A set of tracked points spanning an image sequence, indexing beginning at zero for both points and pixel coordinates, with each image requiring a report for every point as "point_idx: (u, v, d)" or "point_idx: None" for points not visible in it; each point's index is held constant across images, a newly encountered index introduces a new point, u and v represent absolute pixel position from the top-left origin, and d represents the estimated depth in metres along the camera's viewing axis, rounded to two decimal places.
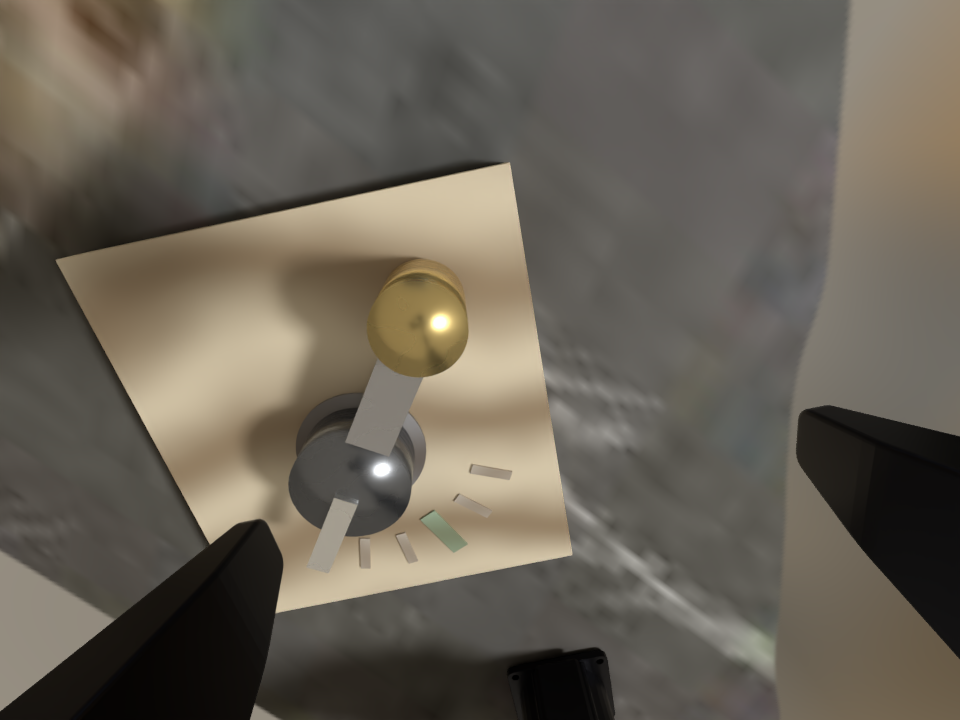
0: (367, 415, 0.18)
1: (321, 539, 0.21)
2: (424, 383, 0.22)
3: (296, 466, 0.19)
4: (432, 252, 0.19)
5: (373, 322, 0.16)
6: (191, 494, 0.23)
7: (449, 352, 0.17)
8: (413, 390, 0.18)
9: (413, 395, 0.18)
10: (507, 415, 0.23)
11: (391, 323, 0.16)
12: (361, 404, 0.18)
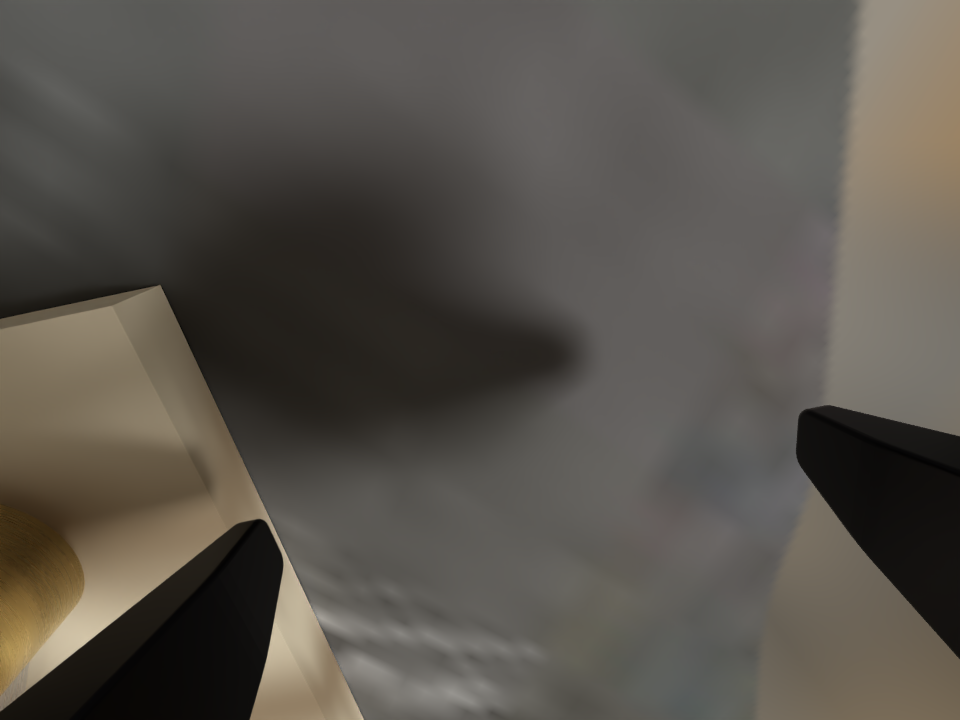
0: None
1: None
2: None
3: None
4: None
5: None
6: None
7: None
8: None
9: None
10: None
11: None
12: None
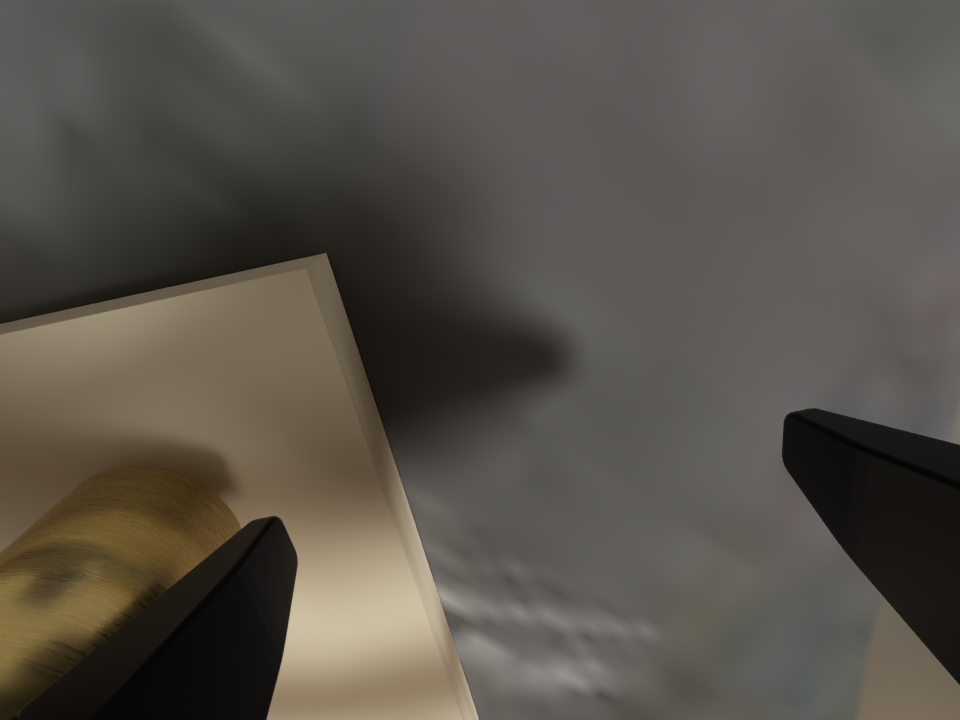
0: None
1: None
2: None
3: None
4: (170, 443, 0.09)
5: None
6: None
7: None
8: None
9: None
10: (373, 691, 0.12)
11: None
12: None
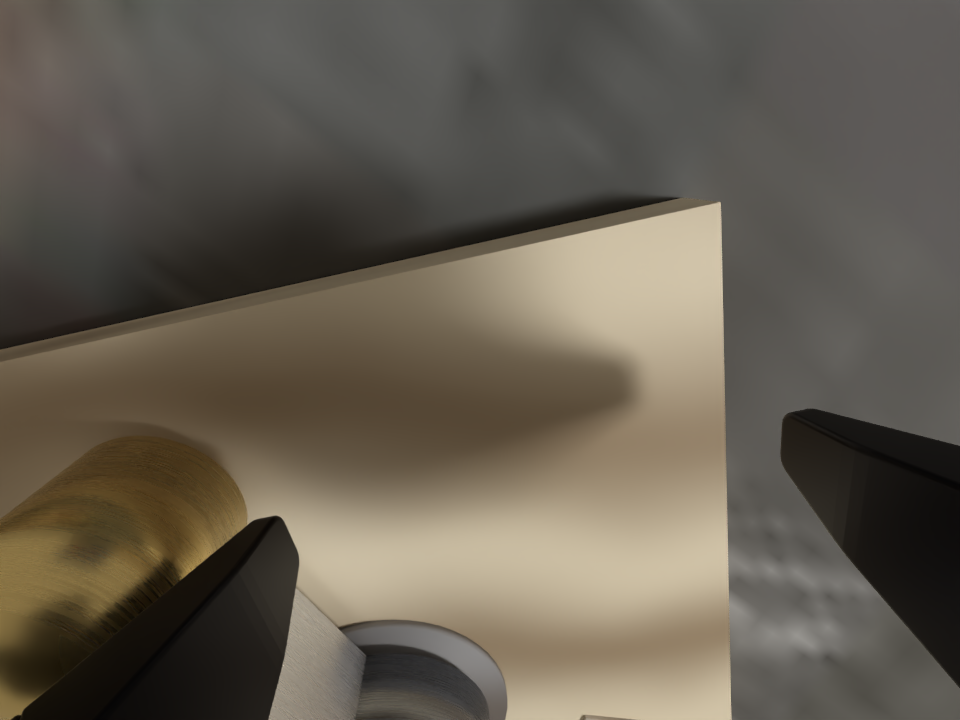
0: None
1: None
2: (510, 601, 0.12)
3: None
4: (542, 381, 0.10)
5: None
6: None
7: None
8: None
9: None
10: (655, 642, 0.13)
11: None
12: None
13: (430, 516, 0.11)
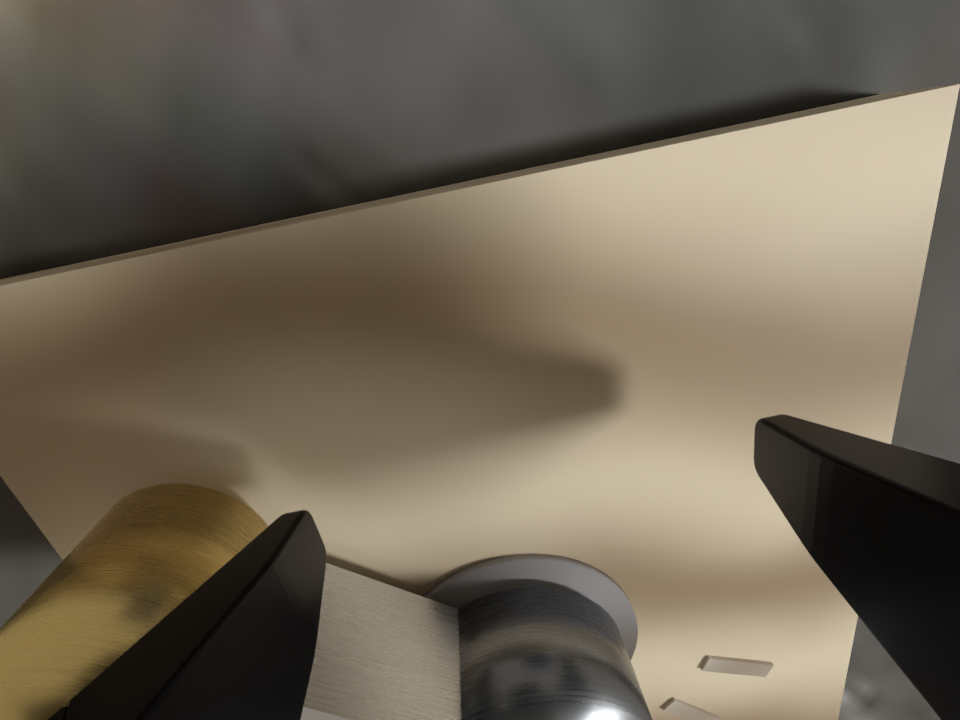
0: None
1: None
2: (655, 534, 0.11)
3: None
4: (733, 289, 0.09)
5: None
6: None
7: None
8: None
9: (305, 708, 0.08)
10: (791, 579, 0.12)
11: None
12: None
13: (589, 440, 0.10)
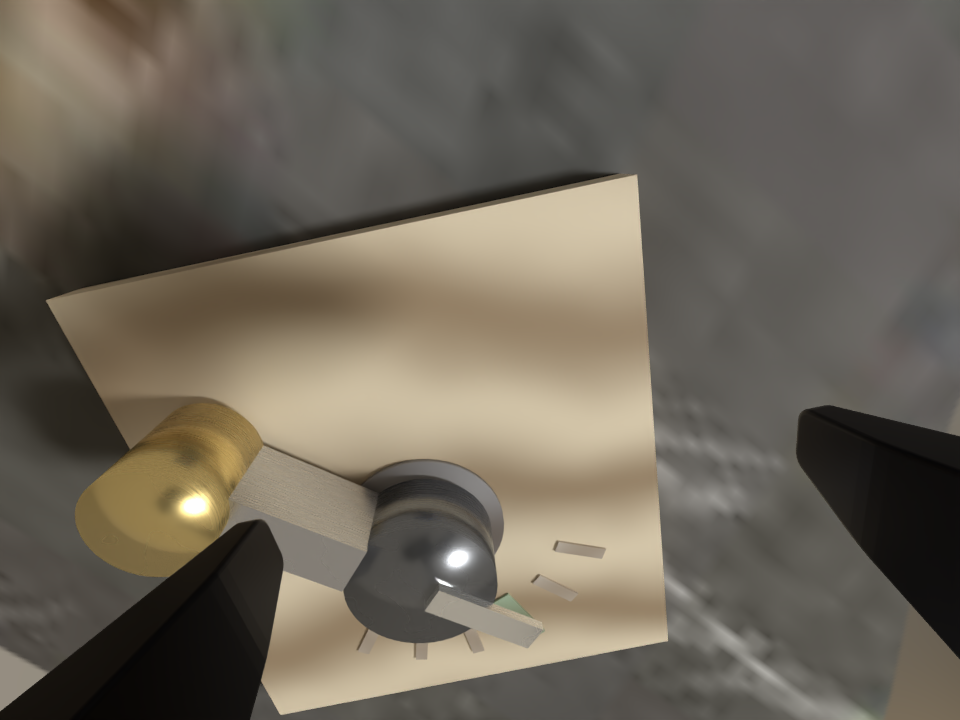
0: (303, 567, 0.15)
1: (487, 630, 0.16)
2: (506, 447, 0.17)
3: (380, 632, 0.16)
4: (528, 288, 0.15)
5: (140, 569, 0.13)
6: None
7: (172, 497, 0.12)
8: (266, 517, 0.14)
9: (274, 518, 0.14)
10: (605, 483, 0.18)
11: (139, 552, 0.13)
12: (287, 570, 0.15)
13: (455, 382, 0.16)
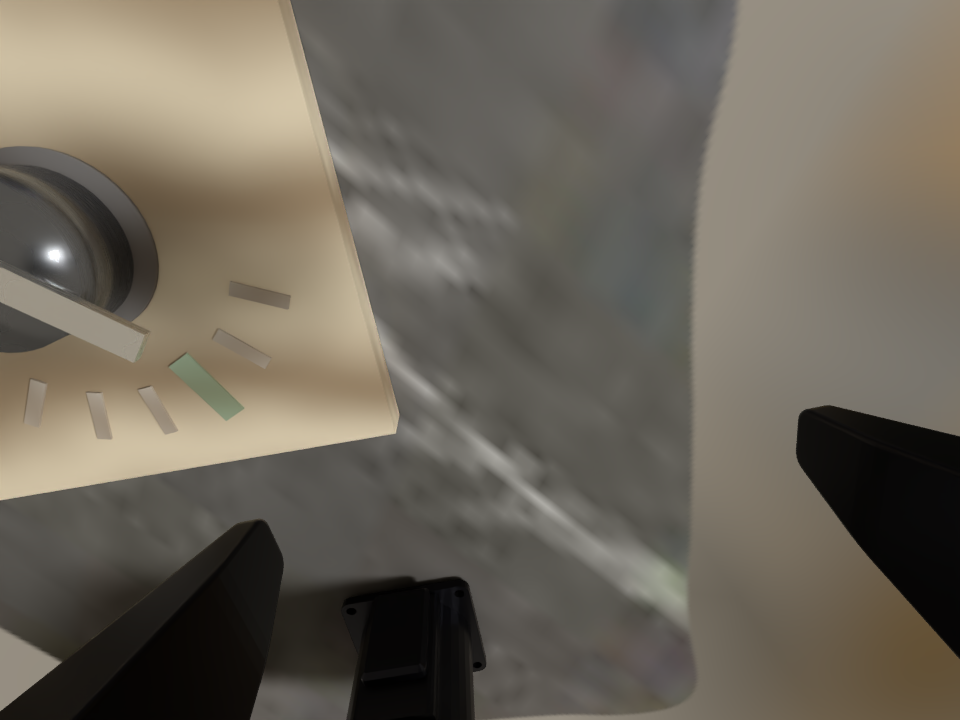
0: None
1: (72, 329, 0.13)
2: (133, 137, 0.15)
3: None
4: None
5: None
6: None
7: None
8: None
9: None
10: (269, 200, 0.15)
11: None
12: None
13: (42, 29, 0.13)
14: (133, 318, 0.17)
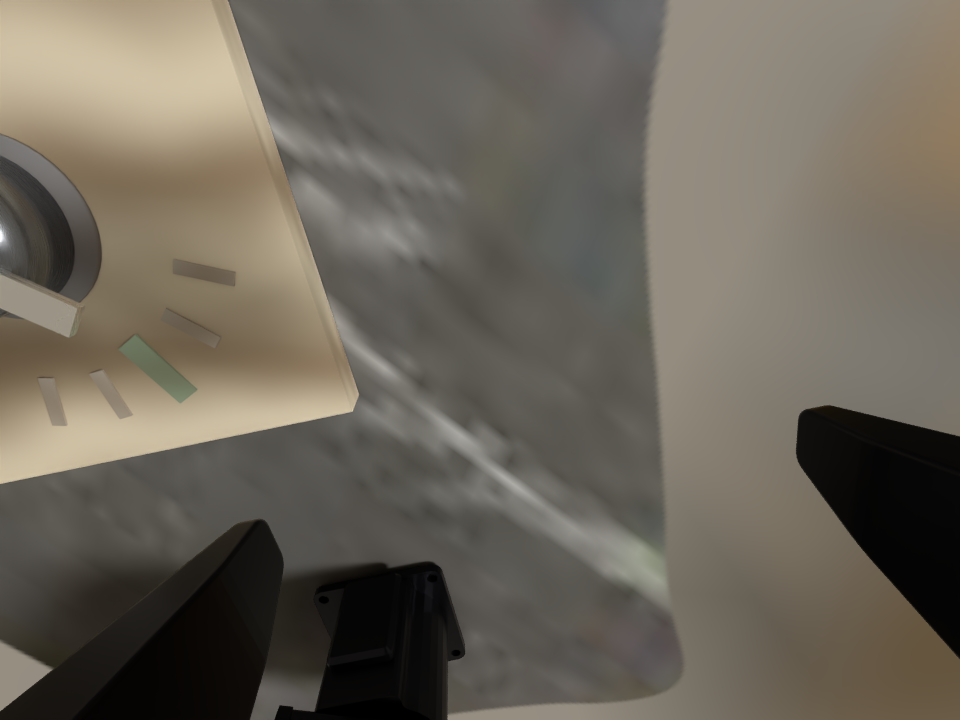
0: None
1: (4, 304, 0.13)
2: (66, 114, 0.15)
3: None
4: None
5: None
6: None
7: None
8: None
9: None
10: (207, 175, 0.15)
11: None
12: None
13: None
14: (79, 300, 0.17)
